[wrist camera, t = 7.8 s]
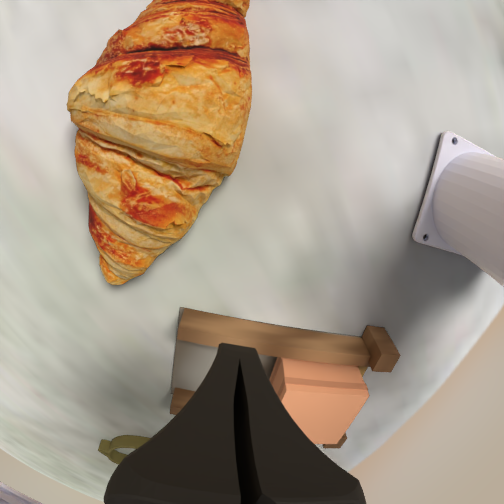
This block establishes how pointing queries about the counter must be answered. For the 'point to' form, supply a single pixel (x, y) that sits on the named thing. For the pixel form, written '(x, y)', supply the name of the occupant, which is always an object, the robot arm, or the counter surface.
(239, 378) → the robot arm
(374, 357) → the brown wooden frame
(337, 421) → the peach rectangular block
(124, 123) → the croissant
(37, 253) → the counter surface
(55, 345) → the counter surface
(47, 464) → the counter surface
